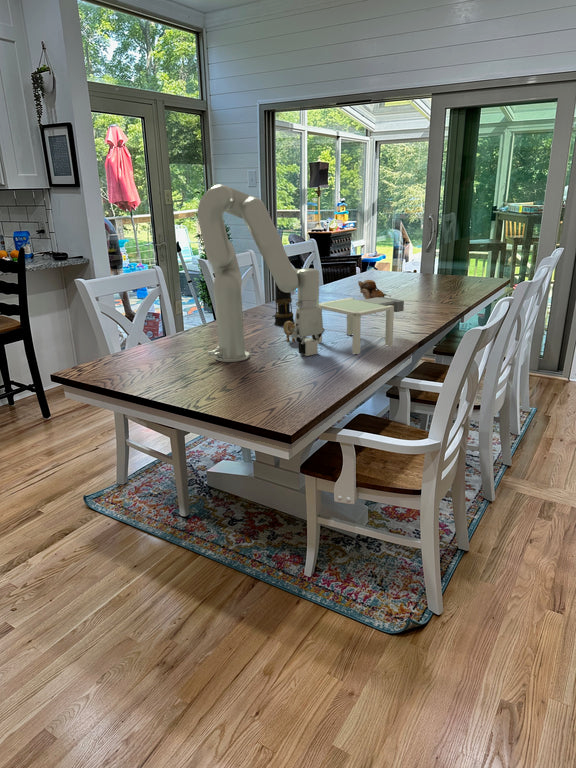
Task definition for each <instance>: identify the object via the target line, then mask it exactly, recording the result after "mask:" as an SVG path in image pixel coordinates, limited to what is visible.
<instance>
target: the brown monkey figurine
mask: <svg viewBox="0 0 576 768" xmlns="http://www.w3.org/2000/svg"><path fill="white" fill-rule="evenodd" d="M357 284H358V286H359V289H360V294H362V296H363V298H364V300H365V299H371V298H376V297H378V298H379V297H385V296H388V297H389V298H392V295H389V294H386V293H384V291H382V290H380V289H379V288H378V287H377V285H376V282H375V281H374V280H372V279H366V280H364V281H363V282H362V281H360V280H359V281H358V283H357Z"/></svg>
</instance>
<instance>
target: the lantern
mask: <svg viewBox="0 0 576 768" xmlns="http://www.w3.org/2000/svg"><path fill="white" fill-rule="evenodd" d="M291 293H292V292H290V293H286V292H283V291H281V290H280V289H279V288H278V286H277V284H276V283H275V300H274V302H275V314H274V315H272V316H271V317H272V318H274V320H275V321H274V326H277V327H278V326H279V327H284V324H285V322H287V321H291V322H293V325H294V324H295V318H294V313H293V308H292V307H293V306H292V301H293V299H292V295H291Z"/></svg>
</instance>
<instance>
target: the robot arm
mask: <svg viewBox="0 0 576 768" xmlns="http://www.w3.org/2000/svg"><path fill="white" fill-rule="evenodd" d="M224 212H225V213H226V214H229V215H232V216H235V217H237V218H239V219H243V221H244V224H245V225H246V227H247V229H248V231H249V233H250V234H251V236H252V237H251V238H252V239H253V241H254V243H255V246H256V247H257V249H258V251H259V254H260V255H261V257H262V258H263V259H264V262H265V263H266V266H267V267H268V270H269V273H270V274H271V275H272V278H273V280H274V281H275V285H276V284H277V286H278V288H279V289H280V290H281V291H283V292H286V293H290V292H291V293H293V292H294V291H295V290H296V289H297V302H296V303H295V305H296V309H295V318H294V324H295V330H294V331H293V333H292V335H290V336H291V338H292V337H293V338H294V339H295V342H297V343H298V354H300V355H304V354H305V344H304V341H305V338H306V337H311V338H312V339H315V340H318V341H319V338H320V337H321V335H322V336H323V335H324V334H323V333H325V332H326V331H325V328H324V326H323V325H324V323H323V322H324V321H323V310H322V311H321V307H319V303H320V272H319V270H318V269H316V268H312V267H311V268H293V267H294V266H292V262H291V261H290V259H289V256H288V255H287V252H286V249H285V248H284V243H283V240H282V238H281V236H280V235H279V232H278V229H277V228H276V225H275V224H274V222H273V220H272V218H271V215H270V214H269V212H268V209H267V207H266V206H265V203H264V201H262V200H261V199H260V198H258V197H255V196H253V195H250V194H248V193H244V192H242V191H240V190H237V189H235V188H232V187H231V186H228V185H225V184H215V185H213V186H212V187H210V188H209V189H208V190H206V192H204V194H203V195H202V196H201V199H200V200H199V203H198V206H197V220H198V225H199V229H200V232H201V233H200V234H201V238H202V241H203V246H204V250H205V254H206V259H207V261H208V263H209V264H210V265H211V267H212V271H213V274H214V281H213V297H214V304H215V305H214V306H215V316H216V329H217V330H216V331H217V341H218V345H217V346H216V347H215V349H213V350H208V351H206V355H207V357H208V358H209V357H212V356H213V357H214V358H215V360H216V361H218V362H223V363H236V362H241V361H245V360H248V359H249V357H250V352H248V351H246V348H245V331H244V315H243V314H244V313H243V298H242V296H243V295H242V286H243V285H242V283H243V279H242V275H241V271H240V266H239V263H238V258H237V255H236V254H237V253H236V251H235V248H234V245H233V243H232V242H231V241H230V240H229V237H228V233H227V229H226V224H225V222H224ZM297 335H298V336H297ZM304 356H305V355H304Z"/></svg>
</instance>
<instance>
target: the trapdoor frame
mask: <svg viewBox="0 0 576 768" xmlns="http://www.w3.org/2000/svg"><path fill="white" fill-rule="evenodd" d="M348 299H354V300H355V298H354V297H347V298H342V299H337V300H331V301H330V300H329V301H324V302H319V307H321V311H322V312H323V310H326V311H329V312H335V313H339V314H343V315H346V335H347V334H348V335H352V334H353V336H352V353H354V354H359V353H360V354H361V334H362V333H361V332H362V331H361V330H362V329H361V327H362V326H361V322H362V321H361V320H362V319H361V318H362V317H364V316H368V315H373V314H377V313H381V312H385V336H384V337H385V338H384V339H385V340H384V346H385V345H388V346H390V347H392V346H391V345H394V314H395V312H394V306H391V305H389V306H384V307H379V308H374V309H369V310H364V311H359V312H355V311H351V310H346V309H342V308H337V307H333V306H328V305H324V304H326V303H332V302H337V301H343V300H348ZM348 335H347V336H348ZM320 342H322V343H323V334H322V335H321V337H320V338H319V341H318V344H321V343H320ZM388 346H387V347H388ZM352 353H351V354H352ZM354 354H353V355H354ZM360 354H359V355H360Z"/></svg>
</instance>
